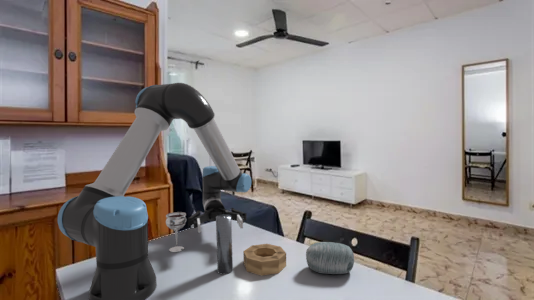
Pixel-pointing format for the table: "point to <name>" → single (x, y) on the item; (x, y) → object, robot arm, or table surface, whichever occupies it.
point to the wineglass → (176, 226)
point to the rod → (224, 243)
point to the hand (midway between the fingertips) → (220, 226)
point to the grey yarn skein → (330, 258)
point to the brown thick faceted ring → (264, 259)
